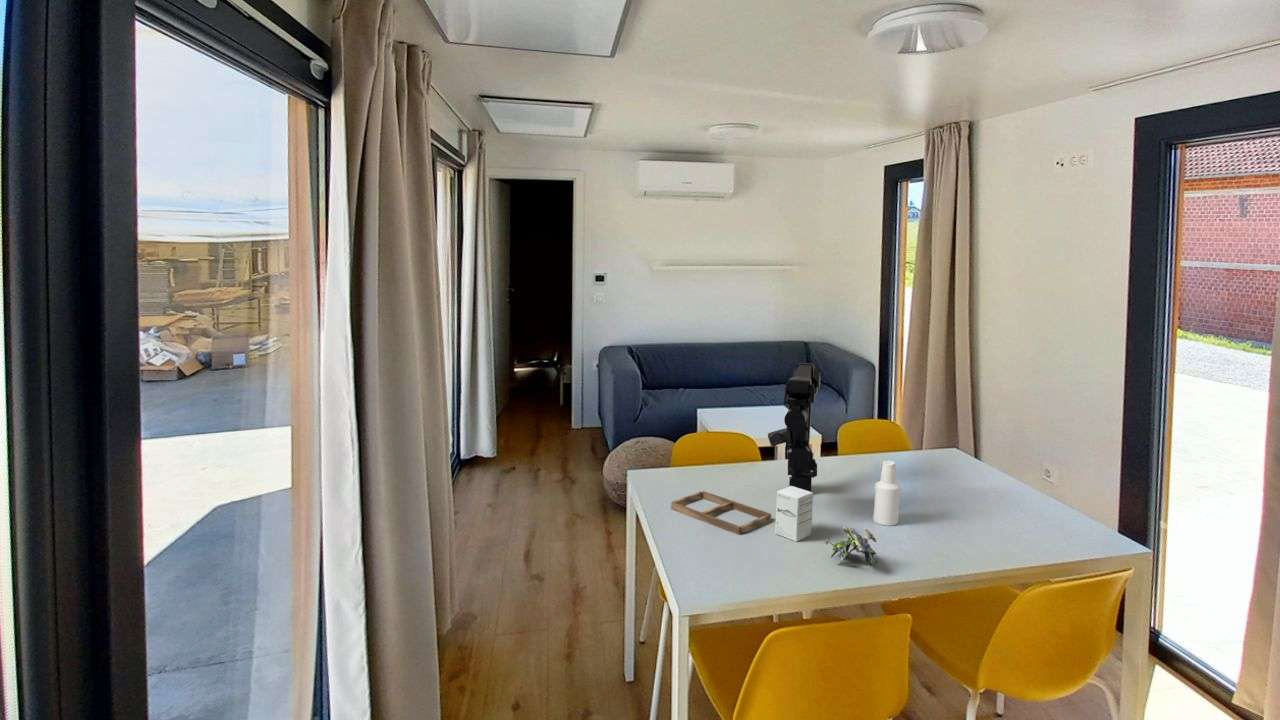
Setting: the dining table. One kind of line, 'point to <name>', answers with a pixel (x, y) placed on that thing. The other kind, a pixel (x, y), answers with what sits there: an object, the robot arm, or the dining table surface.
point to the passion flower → (855, 546)
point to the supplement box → (794, 513)
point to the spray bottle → (887, 496)
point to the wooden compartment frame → (725, 506)
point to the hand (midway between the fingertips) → (795, 473)
